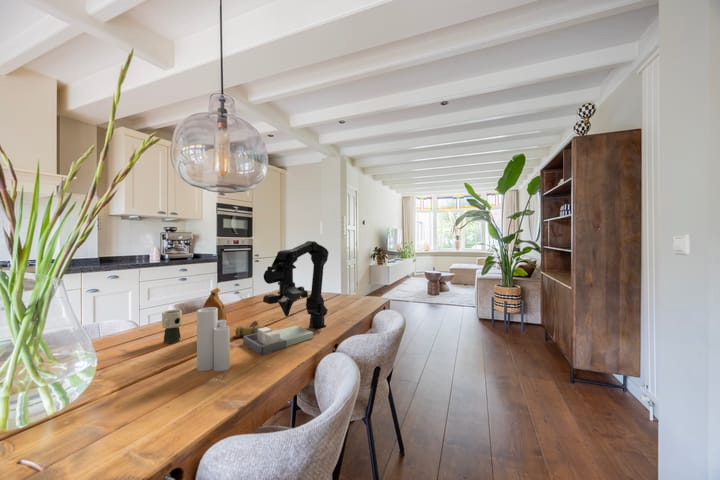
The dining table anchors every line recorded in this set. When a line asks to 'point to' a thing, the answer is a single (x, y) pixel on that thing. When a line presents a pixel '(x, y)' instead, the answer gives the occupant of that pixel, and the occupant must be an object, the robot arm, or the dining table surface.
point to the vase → (212, 341)
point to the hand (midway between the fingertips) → (286, 316)
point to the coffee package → (216, 304)
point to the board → (294, 334)
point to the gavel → (247, 330)
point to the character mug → (171, 325)
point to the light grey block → (271, 338)
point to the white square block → (263, 334)
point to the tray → (262, 344)
